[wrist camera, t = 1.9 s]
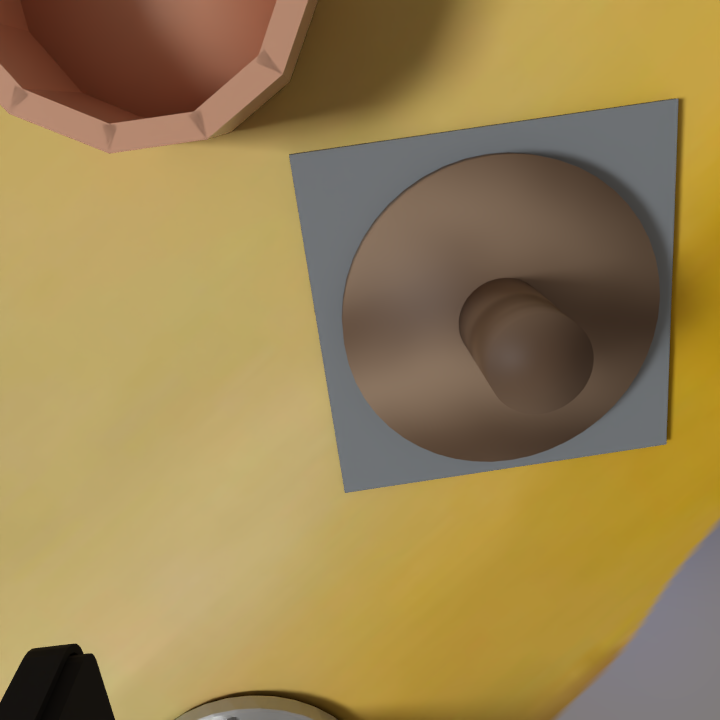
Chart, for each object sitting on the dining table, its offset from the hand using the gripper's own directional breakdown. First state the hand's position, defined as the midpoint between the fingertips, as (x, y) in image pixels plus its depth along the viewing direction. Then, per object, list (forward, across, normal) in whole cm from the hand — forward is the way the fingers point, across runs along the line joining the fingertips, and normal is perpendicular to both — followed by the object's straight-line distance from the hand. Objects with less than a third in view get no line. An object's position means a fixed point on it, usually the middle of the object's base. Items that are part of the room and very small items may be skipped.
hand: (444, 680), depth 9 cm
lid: (+20, -6, +2) cm, 21 cm away
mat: (+20, -6, +2) cm, 21 cm away
